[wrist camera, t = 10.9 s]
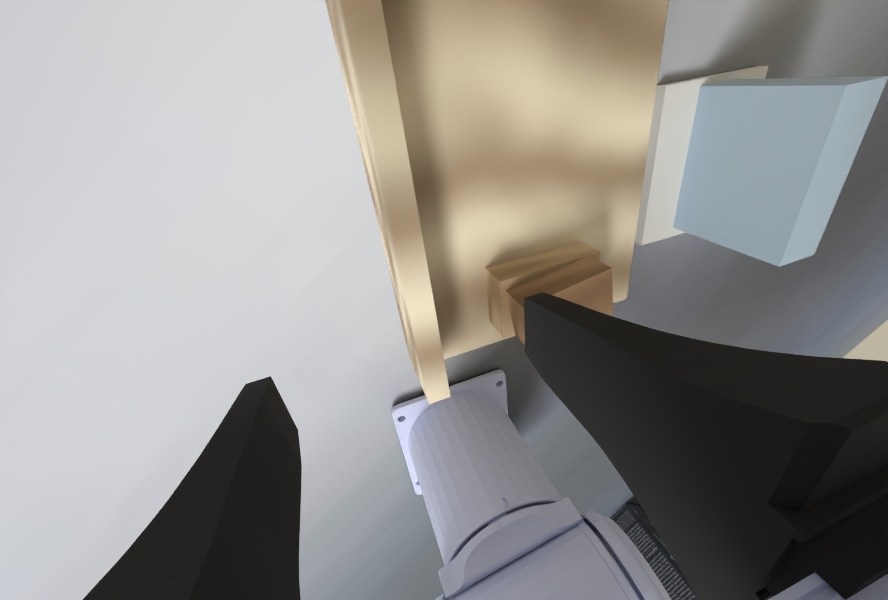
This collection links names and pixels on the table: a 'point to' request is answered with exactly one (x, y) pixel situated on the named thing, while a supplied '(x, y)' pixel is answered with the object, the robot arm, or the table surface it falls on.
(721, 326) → the table surface
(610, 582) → the robot arm
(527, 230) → the pale wood shallow tray
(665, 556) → the box
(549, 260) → the oak offcut
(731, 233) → the pale blue block
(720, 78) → the felt pad
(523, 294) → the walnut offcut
